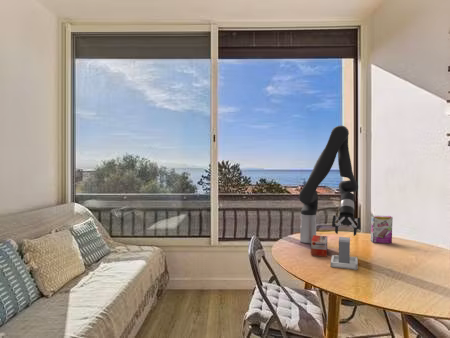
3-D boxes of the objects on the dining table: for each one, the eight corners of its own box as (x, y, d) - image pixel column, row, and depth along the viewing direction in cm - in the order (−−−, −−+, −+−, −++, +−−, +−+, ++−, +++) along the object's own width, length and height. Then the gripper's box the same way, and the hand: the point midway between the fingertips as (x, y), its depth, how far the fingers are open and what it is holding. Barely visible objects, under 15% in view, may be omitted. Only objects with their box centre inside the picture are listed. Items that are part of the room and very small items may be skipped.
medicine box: (326, 257, 173) (326, 242, 173) (310, 255, 176) (310, 241, 176) (327, 249, 188) (327, 235, 187) (312, 248, 190) (312, 234, 190)
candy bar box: (373, 243, 201) (373, 216, 200) (370, 241, 206) (370, 215, 205) (392, 243, 199) (392, 216, 199) (389, 241, 204) (389, 215, 204)
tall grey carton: (338, 264, 160) (338, 239, 159) (339, 260, 165) (339, 236, 165) (349, 265, 158) (349, 240, 157) (349, 261, 163) (349, 237, 163)
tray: (330, 266, 158) (330, 262, 158) (332, 259, 170) (332, 254, 170) (357, 269, 153) (357, 265, 153) (357, 261, 165) (357, 257, 165)
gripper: (333, 204, 183) (331, 228, 173) (361, 206, 178) (360, 231, 168) (333, 212, 188) (331, 236, 178) (360, 214, 183) (359, 239, 173)
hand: (345, 234), depth 173 cm, fingers open, 8 cm apart
